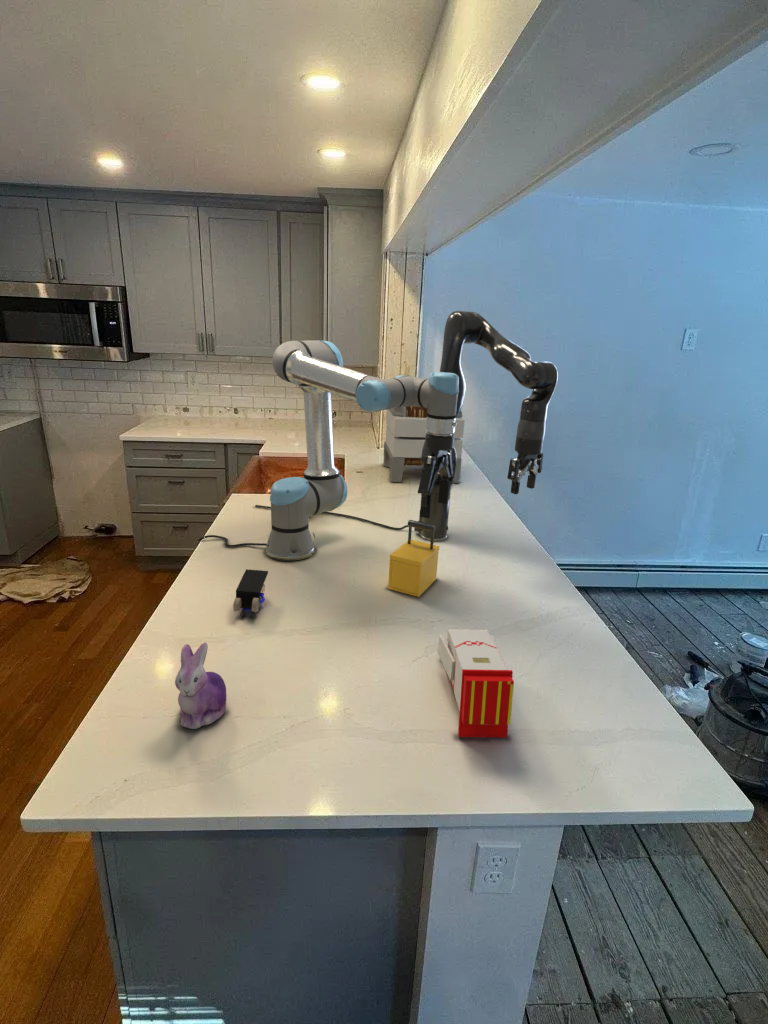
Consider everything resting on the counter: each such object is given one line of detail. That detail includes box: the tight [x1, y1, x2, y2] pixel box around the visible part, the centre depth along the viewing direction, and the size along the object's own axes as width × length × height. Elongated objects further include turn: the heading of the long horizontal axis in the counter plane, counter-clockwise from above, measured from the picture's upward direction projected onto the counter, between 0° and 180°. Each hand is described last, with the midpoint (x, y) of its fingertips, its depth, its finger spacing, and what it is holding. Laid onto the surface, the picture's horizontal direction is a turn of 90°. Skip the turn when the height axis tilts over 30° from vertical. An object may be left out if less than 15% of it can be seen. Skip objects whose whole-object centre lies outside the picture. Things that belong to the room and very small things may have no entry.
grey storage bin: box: [383, 406, 465, 484], centre depth 268 cm, size 34×33×41 cm
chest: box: [387, 551, 439, 598], centre depth 162 cm, size 13×10×9 cm
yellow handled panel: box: [389, 519, 441, 567], centre depth 160 cm, size 14×10×9 cm
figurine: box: [174, 642, 227, 730], centre depth 106 cm, size 9×10×15 cm
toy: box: [437, 628, 515, 738], centre depth 117 cm, size 12×13×30 cm
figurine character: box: [232, 568, 269, 617], centre depth 147 cm, size 7×8×15 cm
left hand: (434, 510), depth 155 cm, fingers open, 13 cm apart
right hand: (522, 490), depth 164 cm, fingers open, 8 cm apart
